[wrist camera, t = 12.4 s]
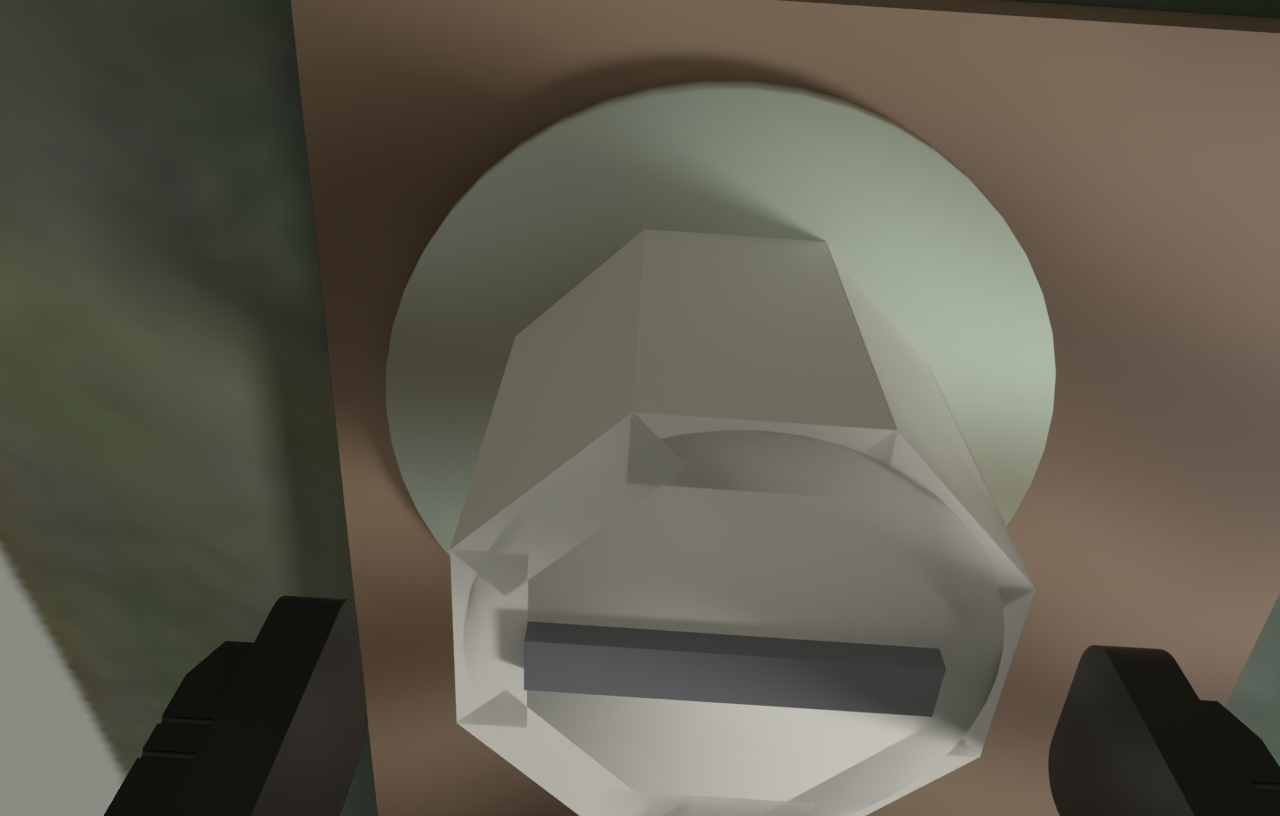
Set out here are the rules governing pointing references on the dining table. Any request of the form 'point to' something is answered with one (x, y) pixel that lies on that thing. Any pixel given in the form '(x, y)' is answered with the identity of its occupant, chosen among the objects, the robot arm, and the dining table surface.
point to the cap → (728, 546)
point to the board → (876, 255)
